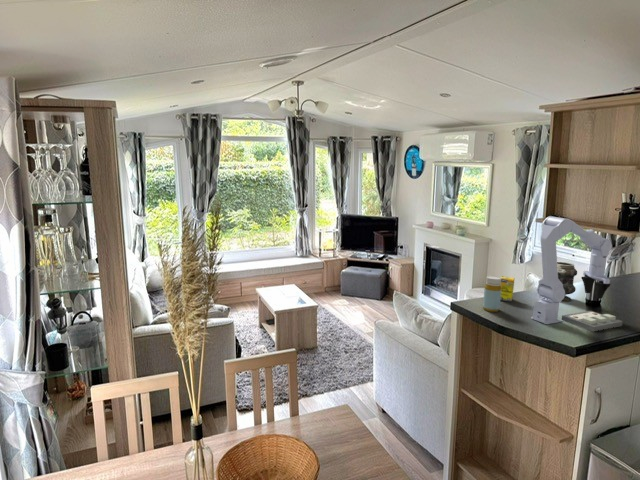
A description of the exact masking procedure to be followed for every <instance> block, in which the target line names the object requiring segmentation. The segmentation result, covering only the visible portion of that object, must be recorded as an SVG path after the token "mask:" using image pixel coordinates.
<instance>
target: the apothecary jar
mask: <svg viewBox="0 0 640 480" xmlns="http://www.w3.org/2000/svg"><path fill="white" fill-rule="evenodd" d="M557 270H558V279H559V280H560V281H561V283H562V284H563V289H564V290H565V297H564V299H563V300H562V301H561V302H572V301H573V300H572V298H571V297H570V296H569V295H571V294H573V293H575V292H576V290H577V289H576V286H575V285H574V279H575V277H576V276H577V275H578V270H577V269H576V268H575V264H574V263H570V262H566V261H565V262H564V261H557ZM567 295H568V296H567Z"/></svg>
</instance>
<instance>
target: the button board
mask: <svg viewBox="0 0 640 480" xmlns="http://www.w3.org/2000/svg"><path fill="white" fill-rule="evenodd" d="M602 315H603V314H601V313H599V312H596V311H593V310H588V311H587V310H586V311H581V312H575V313H574V312H573V313H568V314H564V315H561V320H562V322H566V323H569V324H571V325H574V326H577V327H580V328H582V329H585V330H587V331H591V332H597V331H598V330H599V331H603V329H604V330H607V329H608V328H609V329H613V327H614V328H617V327H622V326H623V320H620V319H615V321H608V320H606V322H604V323H599V322H596V324H593V325H589V324H586V323H584V322H582V319H583V318H586V317H589V318H592V316H601V317H602ZM609 329H608V330H609Z"/></svg>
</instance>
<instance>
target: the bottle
mask: <svg viewBox="0 0 640 480" xmlns="http://www.w3.org/2000/svg"><path fill="white" fill-rule="evenodd" d="M500 298H501V277H500V276H498V275H495V276H494V275H487V276H486V282H485V285H484V292H483V301H482V308H483V310H484V311H486V312H491V313H496V312H499V311H500V307H501V300H500Z"/></svg>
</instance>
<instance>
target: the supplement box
mask: <svg viewBox="0 0 640 480" xmlns="http://www.w3.org/2000/svg"><path fill="white" fill-rule="evenodd" d="M500 278H501V298H500V302H502V301H503V302H508V303H512V300H513V298H514V297H513V296H514V289H515V288H514V287H515V277H509V276H501V277H500Z"/></svg>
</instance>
